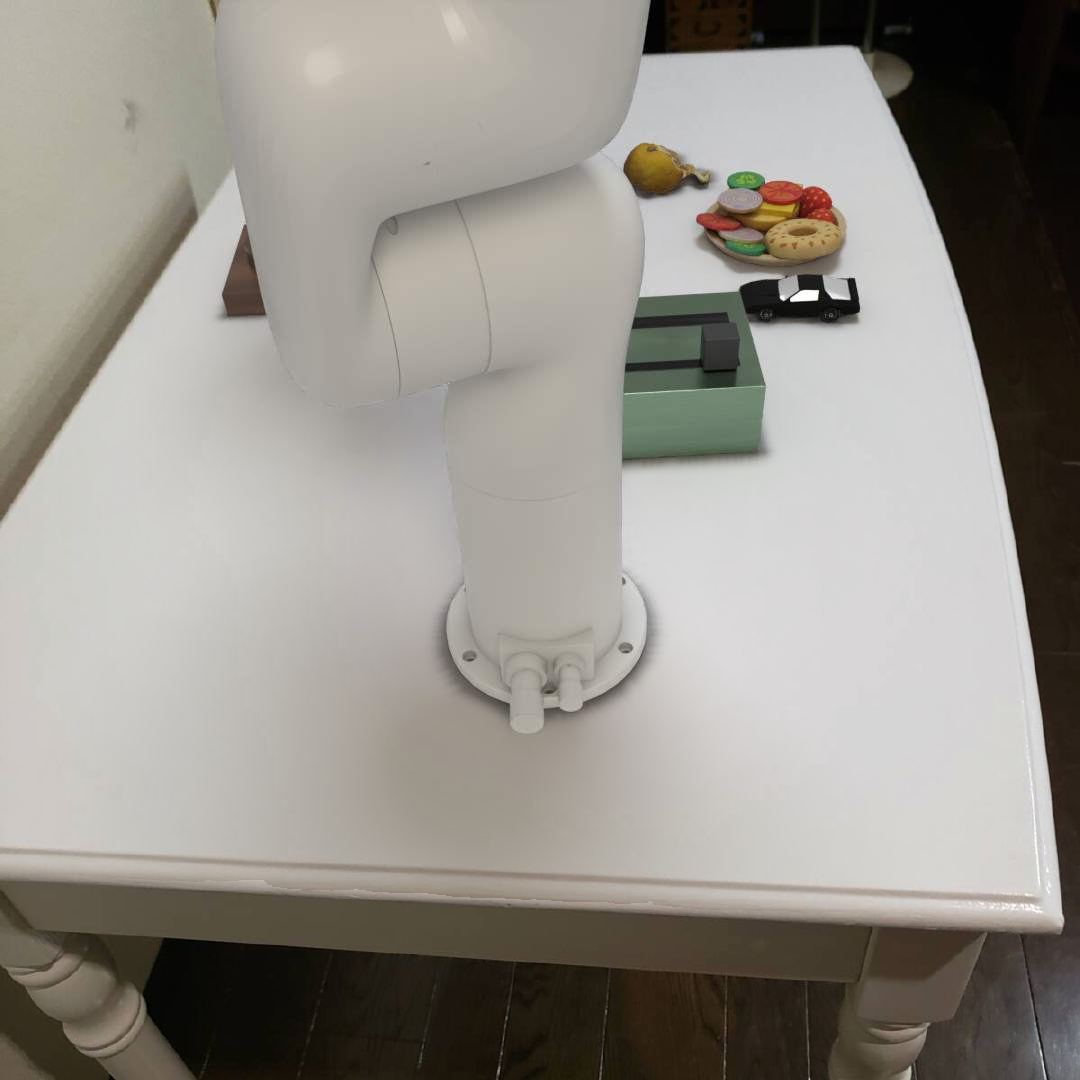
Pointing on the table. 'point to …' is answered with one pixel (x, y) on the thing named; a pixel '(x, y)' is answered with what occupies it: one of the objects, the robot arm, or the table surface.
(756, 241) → the toy food set
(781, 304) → the toy car
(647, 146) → the golden rounded piece
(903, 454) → the table surface
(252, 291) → the control block
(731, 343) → the slider
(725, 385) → the toaster
